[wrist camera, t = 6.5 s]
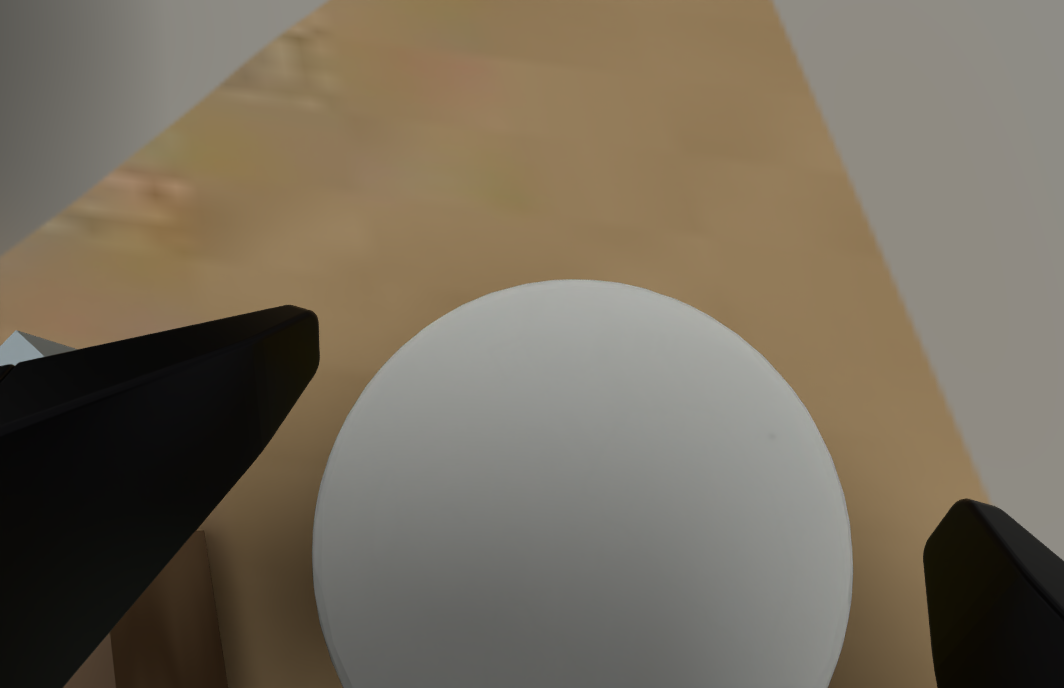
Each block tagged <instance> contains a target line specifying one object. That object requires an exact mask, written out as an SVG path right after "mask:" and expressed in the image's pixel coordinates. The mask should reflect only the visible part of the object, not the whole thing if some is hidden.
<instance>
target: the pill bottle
mask: <svg viewBox="0 0 1064 688" xmlns="http://www.w3.org/2000/svg"><path fill="white" fill-rule="evenodd" d="M312 566H313V583H314V591H315V598H316V604H317V609H318V615H319V621H320V626H321V629H322V632H323V635H324V638H325V642H326V645H327V648H328V651H329V654H330V658H331V661H332V663H333V666H334V668H335V670H336V672H337V675H338V677H339V679H340V681H341V684H342V686H343V688H828V686H829V683H830V680H831V678H832V675H833V673H834V670H835V667H836V665H837V662H838V659H839V656H840V653H841V650H842V646H843V642H844V637H845V633H846V628H847V623H848V619H849V613H850V606H851V598H852V582H853V558H852V543H851V531H850V522H849V517H848V512H847V507H846V502H845V497H844V493H843V490H842V487H841V484H840V481H839V478H838V475H837V472H836V469H835V466H834V463H833V460H832V457H831V455H830V453H829V451H828V449H827V447H826V445H825V443H824V441H823V439H822V437H821V435H820V432H819V430H818V428H817V427H816V425H815V423H814V421H813V419H812V417H811V416H810V414H809V412H808V410H807V408H806V407H805V406H804V404H803V403H802V401H801V400H800V399H799V397H798V396H797V394H796V393H795V392H794V390H793V389H792V388H791V386H790V385H789V384H788V383H787V382H786V381H785V380H784V378H783V377H782V376H781V375H780V374H779V373H778V372H777V371H776V369H775V368H774V367H773V366H772V365H771V364H770V363H769V362H768V361H767V360H766V358H765V357H764V356H763V355H762V354H760V353H759V352H758V351H757V350H756V349H754V348H753V347H752V346H751V345H750V344H748V343H747V342H746V341H745V340H744V339H742V338H741V337H740V336H739V335H738V334H736V333H735V332H733V331H732V330H730V329H729V328H727V327H726V326H724V325H723V324H721V323H720V322H718V321H717V320H715V319H714V318H712V317H711V316H709V315H707V314H705V313H703V312H702V311H700V310H698V309H696V308H694V307H692V306H690V305H688V304H686V303H683V302H681V301H679V300H677V299H674V298H671V297H668V296H665V295H662V294H659V293H656V292H653V291H651V290H648V289H645V288H640V287H636V286H632V285H627V284H623V283H617V282H607V281H598V280H577V279H569V280H551V281H543V282H536V283H529V284H523V285H519V286H515V287H512V288H508V289H504V290H500V291H497V292H493V293H490V294H487V295H485V296H482V297H480V298H478V299H475V300H473V301H471V302H468V303H466V304H463V305H461V306H460V307H458V308H456V309H454V310H453V311H451V312H449V313H447V314H446V315H444V316H442V317H440V318H439V319H437V320H436V321H434V322H433V323H431V324H430V325H428V326H427V327H425V328H424V329H422V330H421V331H420V332H419V333H418V334H417V335H415V336H414V337H413V338H412V339H411V340H409V341H408V342H407V343H406V344H404V345H403V346H402V347H401V348H400V349H399V350H398V351H397V352H396V353H395V354H394V355H393V356H392V357H391V358H390V359H389V360H388V361H387V362H386V363H385V364H384V365H383V366H382V367H381V369H380V370H379V371H378V372H377V373H376V375H375V376H374V377H373V378H372V379H371V381H370V382H369V383H368V384H367V386H366V387H365V389H364V390H363V392H362V394H361V395H360V397H359V398H358V400H357V401H356V403H355V405H354V406H353V408H352V409H351V411H350V412H349V414H348V416H347V418H346V420H345V422H344V424H343V426H342V428H341V430H340V432H339V434H338V436H337V438H336V441H335V443H334V446H333V448H332V451H331V453H330V456H329V458H328V462H327V465H326V468H325V471H324V474H323V477H322V481H321V484H320V489H319V494H318V498H317V503H316V508H315V517H314V526H313V542H312Z"/></svg>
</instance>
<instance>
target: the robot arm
mask: <svg viewBox="0 0 1064 688" xmlns="http://www.w3.org/2000/svg"><path fill="white" fill-rule="evenodd" d="M319 360H320V351H319V323H318V318H317V315H316V314H315V313H314V312H313V311H311V310H307V309H304V308H300V307H297V306H293V305H284V306H279V307H275V308H270V309H265V310H261V311H256V312H251V313H247V314H242V315H237V316H233V317H228V318H223V319H219V320H214V321H209V322H204V323H200V324H195V325H190V326H186V327H181V328H176V329H172V330H167V331H162V332H158V333H153V334H148V335H144V336H139V337H134V338H130V339H125V340H120V341H116V342H111V343H106V344H102V345H97V346H92V347H88V348H83V349H78V350H74V351H69V352H64V353H60V354H55V355H50V356H46V357H41V358H36V359H31V360H27V361H22V362H19V363H17V364H16V365H15V366H14V365H13V364H7V365H3V366H0V688H63V687H64V686H65V685H66V684H67V682H68V681H69V680H70V679H71V678H72V676H73V675H74V674H75V673H76V672H77V670H78V669H79V668H80V667H81V666H82V665H83V663H84V662H85V661H86V660H87V659H88V657H89V656H90V655H91V654H92V653H93V652H94V650H95V649H96V648H97V647H98V646H99V644H100V643H101V642H102V641H103V640H104V639H105V637H106V636H107V635H108V634H109V633H110V631H111V630H112V629H113V628H114V627H115V626H116V624H117V623H118V622H119V621H120V620H121V618H122V617H123V616H124V615H125V614H126V613H127V611H128V610H129V609H130V608H131V607H132V605H133V604H134V603H135V602H136V601H137V600H138V598H139V597H140V596H141V595H142V594H143V592H144V591H145V590H146V589H147V588H148V587H149V585H150V584H151V583H152V582H153V581H154V579H155V578H156V577H157V576H158V575H159V574H160V572H161V571H162V570H163V569H164V568H165V566H166V565H167V564H168V563H169V562H170V560H171V559H172V558H173V557H174V556H175V555H176V553H177V552H178V551H179V550H180V549H181V547H182V546H183V545H184V544H185V543H186V542H187V540H188V539H189V538H190V537H191V536H192V534H193V533H194V532H195V531H196V530H197V529H198V527H199V526H200V525H201V524H202V523H203V521H204V520H205V519H206V518H207V517H208V516H209V514H210V513H211V512H212V511H213V510H214V508H215V507H216V506H217V505H218V504H219V503H220V501H221V500H222V499H223V498H224V497H225V495H226V494H227V493H228V492H229V491H230V490H231V488H232V487H233V486H234V485H235V484H236V482H237V481H238V480H239V479H240V478H241V477H242V475H243V474H244V473H245V472H246V471H247V469H248V468H249V467H250V466H251V465H252V463H253V462H254V461H255V460H256V459H257V457H258V456H259V455H260V454H261V452H262V451H263V450H264V448H265V447H266V446H267V444H268V443H269V441H270V440H271V439H272V437H273V436H274V434H275V433H276V431H277V430H278V428H279V427H280V425H281V424H282V422H283V421H284V419H285V418H286V416H287V415H288V413H289V412H290V410H291V409H292V407H293V406H294V404H295V403H296V401H297V400H298V399H299V397H300V396H301V394H302V393H303V391H304V390H305V388H306V387H307V385H308V384H309V382H310V381H311V379H312V378H313V376H314V375H315V373H316V371H317V368H318V365H319ZM923 563H924V573H925V584H926V594H927V605H928V615H929V626H930V636H931V647H932V656H933V663H934V671H935V676H936V681H937V687H938V688H1064V561H1063V560H1062V559H1060V558H1059V557H1058V556H1057V555H1056V554H1055V553H1053V552H1052V551H1051V550H1050V549H1049V548H1047V547H1046V546H1045V545H1044V544H1043V543H1041V542H1040V541H1039V540H1038V539H1036V538H1035V537H1034V536H1033V535H1032V534H1031V533H1029V532H1028V531H1027V530H1026V529H1025V528H1023V527H1022V526H1021V525H1020V524H1018V523H1017V522H1016V521H1015V520H1014V519H1012V518H1011V517H1010V516H1009V515H1008V514H1006V513H1005V512H1004V511H1003V510H1001V509H1000V508H997V507H995V506H992V505H988V504H985V503H981V502H978V501H974V500H971V499H961V500H959V501H957V502H956V503H955V504H954V505H953V506H952V507H951V508H950V510H949V511H948V513H947V514H946V515H945V517H944V518H943V519H942V521H941V522H940V523H939V525H938V526H937V528H936V529H935V530H934V532H933V533H932V534H931V536H930V537H929V539H928V540H927V542H926V545H925V548H924V553H923Z"/></svg>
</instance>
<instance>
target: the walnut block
mask: <svg viewBox="0 0 1064 688" xmlns="http://www.w3.org/2000/svg"><path fill="white" fill-rule="evenodd" d="M63 688H228V684H227V678H226V671H225V665H224V658H223V652H222V645H221V639H220V632H219V626H218V619H217V613H216V606H215V600H214V593H213V587H212V580H211V574H210V567H209V561H208V554H207V548H206V541H205V535H204V531H195V532H194V533H193V534H192V536H191V537H190V538H189V539H188V540H187V542H186V543H185V544H184V545H183V546H182V547H181V549H180V550H179V551H178V552H177V553H176V555H175V556H174V557H173V558H172V559H171V560H170V562H169V563H168V564H167V565H166V566H165V568H164V569H163V570H162V571H161V572H160V574H159V575H158V576H157V577H156V578H155V579H154V581H153V582H152V583H151V584H150V585H149V587H148V588H147V589H146V590H145V591H144V592H143V594H142V595H141V596H140V597H139V598H138V600H137V601H136V602H135V603H134V604H133V605H132V607H131V608H130V609H129V610H128V611H127V613H126V614H125V615H124V616H123V617H122V618H121V620H120V621H119V622H118V623H117V624H116V626H115V627H114V628H113V629H112V630H111V631H110V633H109V634H108V635H107V636H106V637H105V639H104V640H103V641H102V642H101V643H100V644H99V646H98V647H97V648H96V649H95V650H94V652H93V653H92V654H91V655H90V656H89V657H88V659H87V660H86V661H85V662H84V663H83V665H82V666H81V667H80V668H79V669H78V670H77V672H76V673H75V674H74V675H73V676H72V678H71V679H70V680H69V681H68V682H67V684H66V685H65V686H64V687H63Z"/></svg>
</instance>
